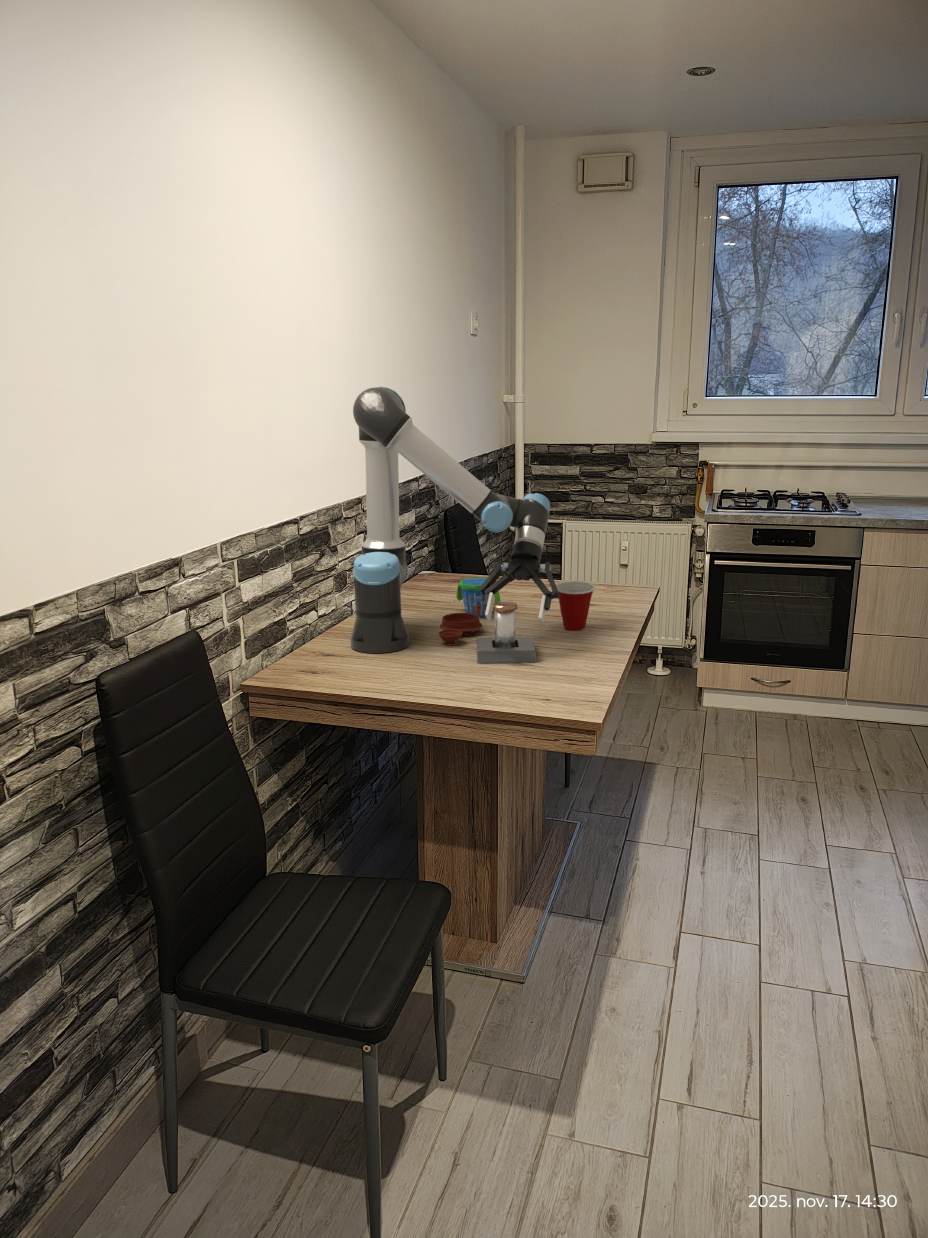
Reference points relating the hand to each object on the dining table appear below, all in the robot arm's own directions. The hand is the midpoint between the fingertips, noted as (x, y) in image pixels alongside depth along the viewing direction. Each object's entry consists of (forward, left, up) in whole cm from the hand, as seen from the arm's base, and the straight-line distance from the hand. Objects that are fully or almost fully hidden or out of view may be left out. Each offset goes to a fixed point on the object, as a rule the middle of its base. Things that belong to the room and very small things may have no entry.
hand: (513, 619), depth 220 cm
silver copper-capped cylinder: (-2, -2, -9) cm, 9 cm away
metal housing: (-2, -2, -9) cm, 9 cm away
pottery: (-14, +16, -9) cm, 23 cm away
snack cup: (-8, +38, -9) cm, 40 cm away
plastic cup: (+18, +22, -9) cm, 29 cm away
